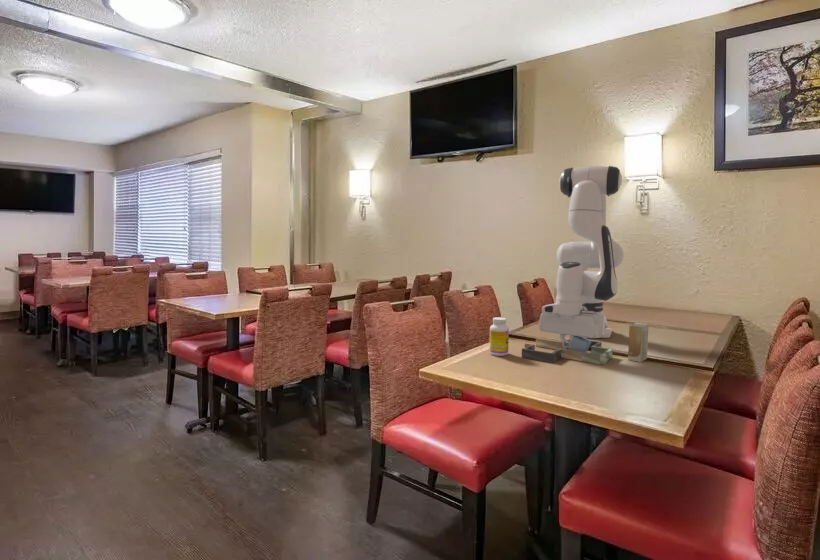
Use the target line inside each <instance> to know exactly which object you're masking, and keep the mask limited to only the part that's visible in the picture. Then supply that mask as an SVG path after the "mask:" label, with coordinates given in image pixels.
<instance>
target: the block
mask: <svg viewBox="0 0 820 560" xmlns="http://www.w3.org/2000/svg"><path fill="white" fill-rule="evenodd" d="M591 341H593V340H592V339H590V338H585V337H578V336H574V337H573V339H572V342H571V344H570V347H569V349H568V350H574V351H581V352H587V353H588V351H589V350H590V349H589V346H590V344H591Z"/></svg>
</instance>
